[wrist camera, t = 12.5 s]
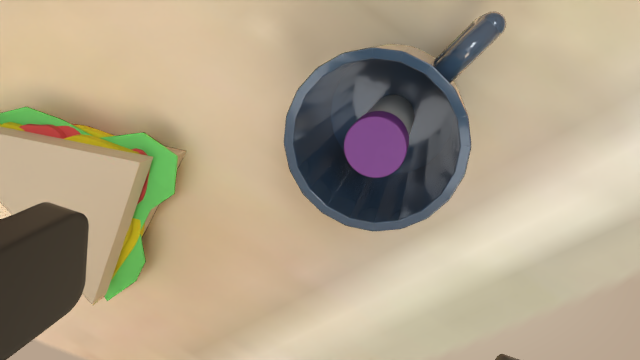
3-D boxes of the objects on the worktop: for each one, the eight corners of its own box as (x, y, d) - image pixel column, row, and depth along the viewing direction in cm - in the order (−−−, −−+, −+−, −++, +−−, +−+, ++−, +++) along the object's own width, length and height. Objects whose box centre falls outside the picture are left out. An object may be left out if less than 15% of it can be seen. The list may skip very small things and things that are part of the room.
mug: (390, 203, 33) (373, 263, 25) (300, 114, 33) (249, 142, 24) (538, 72, 29) (582, 88, 20) (434, -33, 28) (432, -64, 20)
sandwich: (34, 0, 35) (-27, -5, 31) (227, 175, 36) (195, 196, 31) (-38, 145, 41) (-98, 159, 36) (130, 294, 41) (91, 327, 37)
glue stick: (365, 132, 32) (337, 168, 23) (376, 88, 31) (351, 109, 22) (408, 143, 31) (397, 185, 23) (421, 99, 30) (414, 125, 22)
